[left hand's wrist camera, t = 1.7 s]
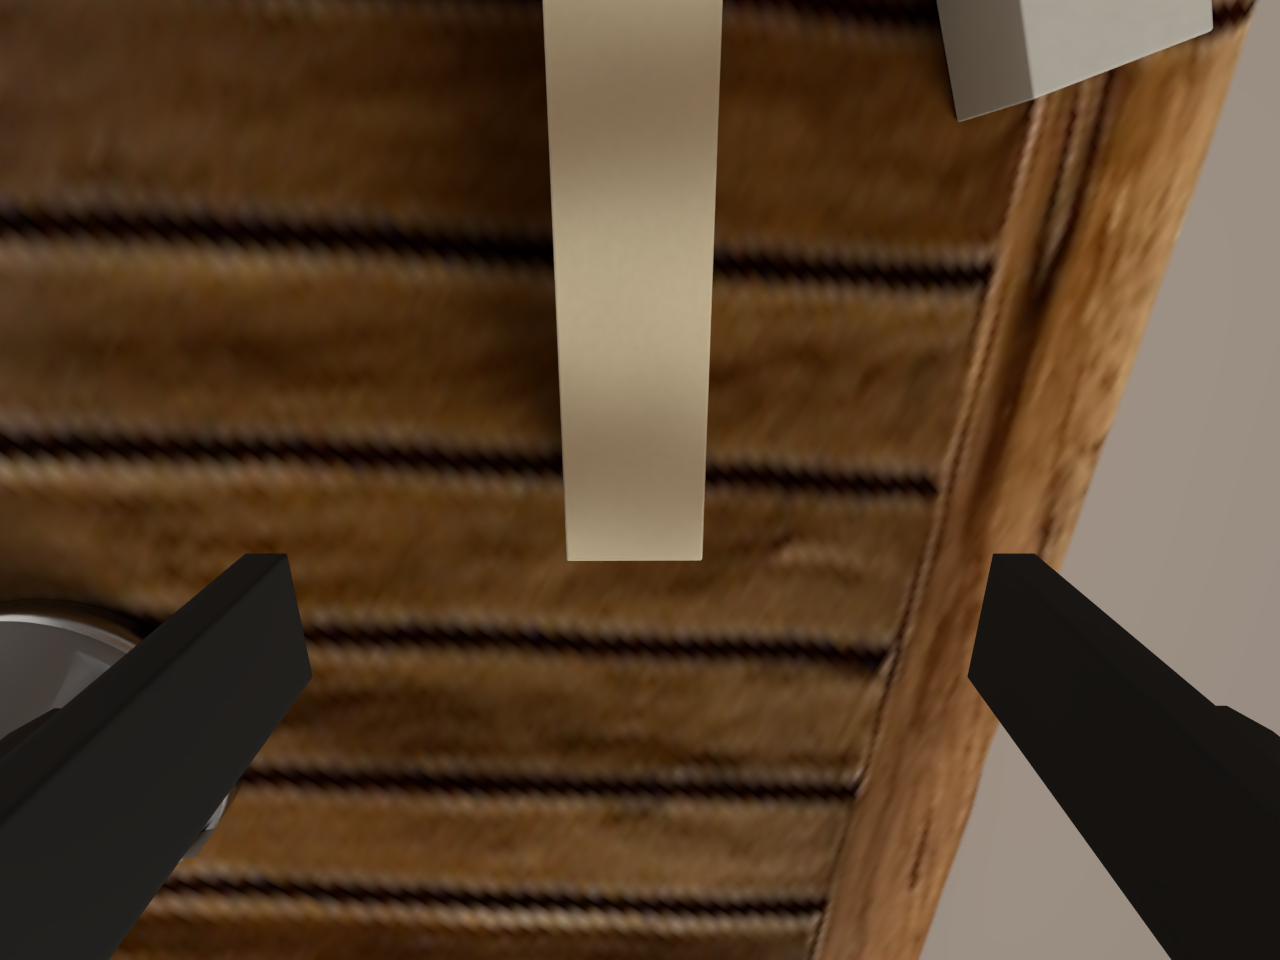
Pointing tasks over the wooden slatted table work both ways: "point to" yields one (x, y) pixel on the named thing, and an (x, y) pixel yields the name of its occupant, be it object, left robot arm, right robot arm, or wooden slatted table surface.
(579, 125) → the ash bar
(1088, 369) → the wooden slatted table surface
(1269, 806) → the left robot arm
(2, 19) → the wooden slatted table surface
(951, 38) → the grey block
